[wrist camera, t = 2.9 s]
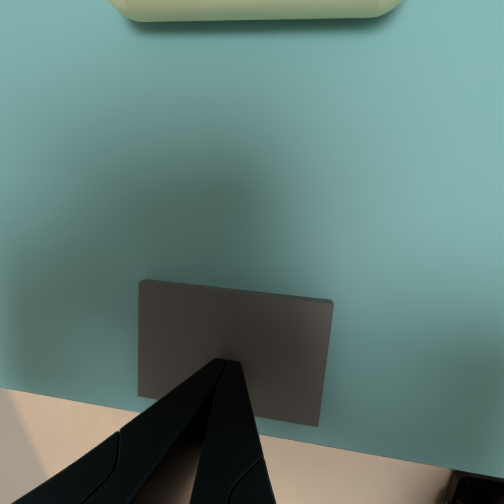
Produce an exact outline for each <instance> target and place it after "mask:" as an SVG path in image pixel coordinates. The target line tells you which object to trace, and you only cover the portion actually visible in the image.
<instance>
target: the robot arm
mask: <svg viewBox="0 0 504 504" xmlns="http://www.w3.org/2000/svg"><path fill="white" fill-rule="evenodd" d="M12 504H276V501H275V497H274V493H273V490H272V486H271V482H270V479H269V475H268V471H267V467H266V463H265V460H264V455H263V451H262V447H261V443H260V439H259V434H258V430H257V426H256V422H255V418H254V414H253V409H252V405H251V401H250V397H249V393H248V389H247V385H246V380H245V376H244V372H243V368H242V364H241V362H240V361H236V360H228V361H227V360H226V359H222V358H214V359H213V360H211V361H210V362H209V363H207V364H206V365H205V366H203V367H202V368H201V369H199V370H198V371H197V372H195V373H194V374H193V375H191V376H190V377H189V378H187V379H186V380H185V381H183V382H182V383H181V384H179V385H178V386H177V387H175V388H174V389H173V390H171V391H170V392H169V393H167V394H166V395H165V396H163V397H162V398H161V399H159V400H158V401H157V402H155V403H154V404H153V405H151V406H150V407H149V408H147V409H146V410H145V411H143V412H142V413H141V414H139V415H138V416H137V417H135V418H134V419H133V420H131V421H130V422H129V423H127V424H126V425H125V426H123V427H122V428H121V429H120V431H117V432H115V433H114V434H112V435H111V436H110V437H108V438H107V439H106V440H104V441H103V442H102V443H100V444H99V445H98V446H96V447H95V448H93V449H92V450H91V451H89V452H88V453H86V454H85V455H84V456H82V457H81V458H80V459H78V460H77V461H75V462H74V463H72V464H71V465H69V466H68V467H66V468H65V469H63V470H62V471H60V472H59V473H57V474H56V475H54V476H53V477H51V478H50V479H48V480H47V481H45V482H44V483H42V484H41V485H39V486H38V487H36V488H35V489H33V490H32V491H30V492H29V493H27V494H25V495H24V496H22V497H21V498H19V499H18V500H16V501H14V502H13V503H12ZM444 504H504V478H499V477H493V476H488V475H482V474H477V473H471V472H466V471H460V470H457V471H455V472H454V474H453V477H452V480H451V483H450V486H449V489H448V493H447V496H446V499H445V502H444Z"/></svg>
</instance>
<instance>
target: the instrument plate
mask: <svg viewBox="0 0 504 504" xmlns="http://www.w3.org/2000/svg"><path fill="white" fill-rule="evenodd" d="M214 358H222V359H226V360H227V361H228V360H236V361H240V362H241V364H242V368H243V372H244V376H245V380H246V385H247V389H248V393H249V397H250V401H251V405H252V409H253V414H254V418H255V422H256V426H257V430H258V434H261V435H266V436H272V437H277V438H283V439H288V440H294V441H300V442H305V443H311V444H316V445H322V446H327V447H333V448H338V449H344V450H349V451H355V452H361V453H366V454H372V455H377V456H383V457H388V458H394V459H399V460H405V461H410V462H416V463H421V464H427V465H433V466H438V467H444V468H449V469H455V470H460V471H466V472H471V473H477V474H482V475H488V476H493V477H499V478H504V0H0V388H6V389H12V390H17V391H23V392H28V393H34V394H39V395H45V396H50V397H56V398H61V399H67V400H72V401H78V402H84V403H89V404H95V405H100V406H106V407H111V408H117V409H122V410H128V411H133V412H139V413H142V412H143V411H145V410H146V409H147V408H149V407H150V406H151V405H153V404H154V403H155V402H157V401H158V400H159V399H161V398H162V397H163V396H165V395H166V394H167V393H169V392H170V391H171V390H173V389H174V388H175V387H177V386H178V385H179V384H181V383H182V382H183V381H185V380H186V379H187V378H189V377H190V376H191V375H193V374H194V373H195V372H197V371H198V370H199V369H201V368H202V367H203V366H205V365H206V364H207V363H209V362H210V361H211V360H213V359H214Z"/></svg>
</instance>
